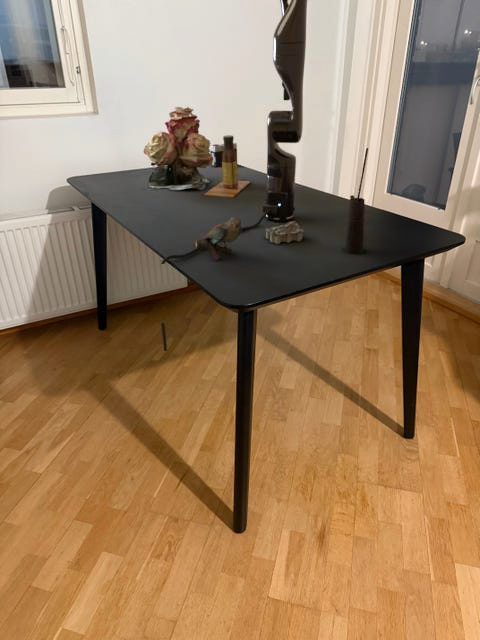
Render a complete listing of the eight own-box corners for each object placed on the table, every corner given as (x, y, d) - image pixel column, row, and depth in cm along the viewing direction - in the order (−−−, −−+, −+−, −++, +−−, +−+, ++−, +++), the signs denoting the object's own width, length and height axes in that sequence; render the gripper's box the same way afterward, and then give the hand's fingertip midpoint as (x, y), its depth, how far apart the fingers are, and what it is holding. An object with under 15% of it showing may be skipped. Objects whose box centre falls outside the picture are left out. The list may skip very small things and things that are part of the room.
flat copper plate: (233, 197, 179) (233, 196, 179) (204, 195, 182) (204, 194, 182) (250, 182, 199) (250, 181, 199) (223, 181, 202) (223, 179, 202)
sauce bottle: (235, 184, 195) (234, 134, 185) (240, 188, 189) (239, 136, 179) (220, 185, 193) (219, 135, 183) (225, 189, 188) (223, 137, 178)
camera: (227, 160, 239) (226, 140, 234) (237, 163, 233) (237, 142, 228) (205, 164, 231) (204, 143, 226) (215, 167, 226) (215, 145, 221)
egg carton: (296, 233, 144) (297, 220, 142) (305, 241, 138) (306, 228, 136) (263, 236, 142) (264, 223, 140) (271, 244, 135) (272, 231, 133)
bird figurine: (179, 245, 133) (196, 193, 117) (208, 239, 138) (228, 188, 123) (202, 281, 129) (223, 232, 113) (230, 273, 134) (254, 224, 118)
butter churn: (330, 243, 136) (340, 143, 122) (362, 242, 136) (375, 142, 122) (338, 255, 128) (349, 149, 114) (372, 254, 129) (387, 148, 114)
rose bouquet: (141, 190, 190) (132, 110, 175) (172, 174, 214) (167, 102, 199) (198, 195, 183) (194, 112, 168) (224, 178, 207) (223, 104, 191)
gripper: (298, 46, 150) (295, 101, 158) (305, 46, 162) (303, 97, 170) (275, 46, 152) (274, 100, 160) (284, 46, 163) (283, 97, 172)
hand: (289, 99), depth 165 cm, fingers open, 8 cm apart
